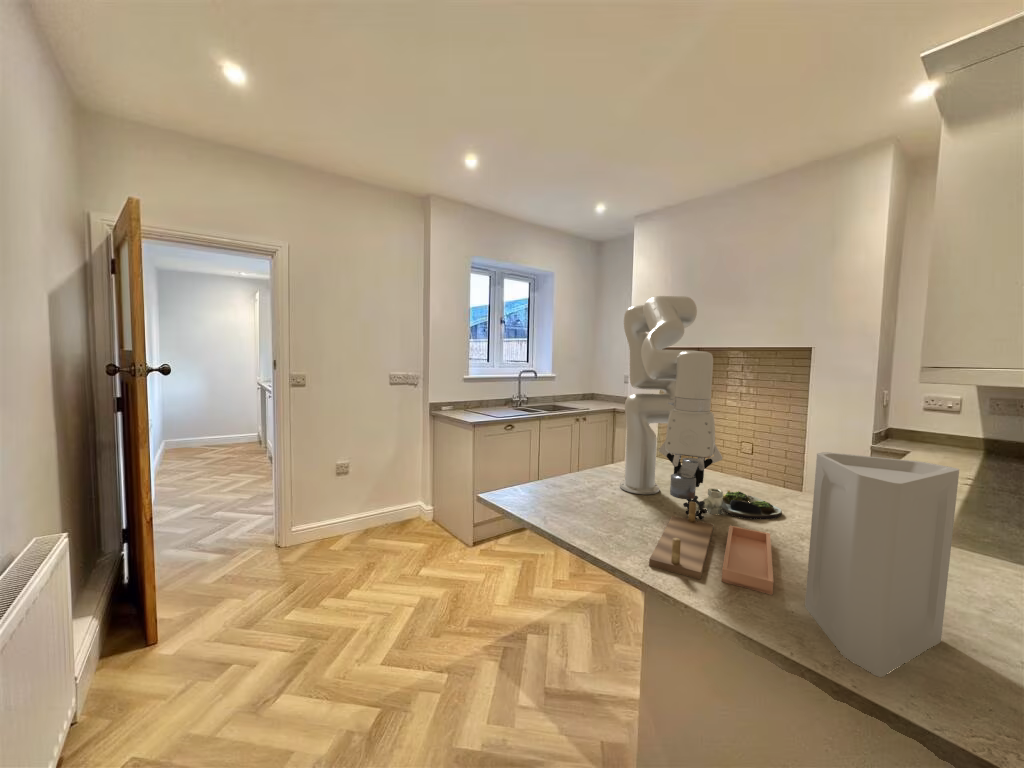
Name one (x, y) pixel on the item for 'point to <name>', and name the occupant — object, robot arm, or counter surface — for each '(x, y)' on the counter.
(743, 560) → the slot holder
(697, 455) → the robot arm
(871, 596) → the paper bag
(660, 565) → the board
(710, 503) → the valve
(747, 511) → the salad plate
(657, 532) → the counter surface
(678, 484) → the grey long knobbed bar
